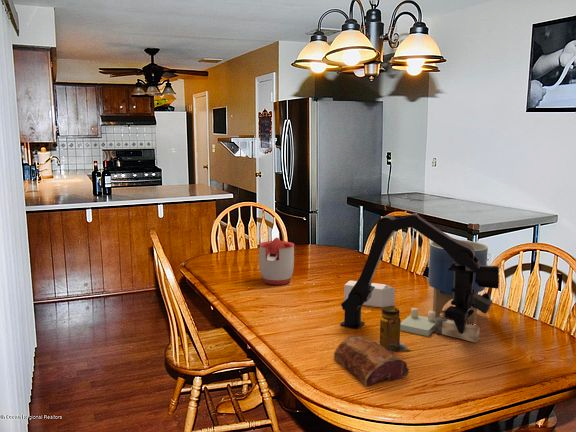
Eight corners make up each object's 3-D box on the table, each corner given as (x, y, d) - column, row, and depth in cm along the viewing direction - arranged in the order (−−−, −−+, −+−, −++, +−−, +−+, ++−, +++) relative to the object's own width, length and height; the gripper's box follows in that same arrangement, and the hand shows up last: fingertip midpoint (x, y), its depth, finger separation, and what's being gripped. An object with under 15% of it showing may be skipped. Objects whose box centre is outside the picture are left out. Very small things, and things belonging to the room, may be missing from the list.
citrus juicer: (253, 286, 222) (253, 240, 219) (264, 276, 238) (264, 233, 235) (288, 289, 218) (289, 242, 215) (297, 278, 235) (298, 235, 232)
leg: (433, 332, 169) (433, 319, 169) (437, 329, 172) (438, 316, 171) (475, 342, 161) (476, 329, 160) (479, 339, 163) (480, 326, 163)
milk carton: (343, 302, 201) (392, 309, 193) (343, 284, 200) (393, 290, 192) (348, 297, 207) (396, 303, 200) (349, 280, 206) (396, 285, 199)
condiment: (375, 343, 161) (376, 306, 159) (401, 341, 163) (402, 304, 161) (383, 352, 154) (384, 314, 152) (410, 351, 155) (411, 312, 154)
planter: (415, 312, 190) (418, 242, 186) (455, 305, 198) (459, 237, 194) (453, 330, 173) (457, 252, 169) (495, 321, 181) (500, 247, 177)
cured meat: (370, 341, 163) (370, 321, 162) (421, 374, 140) (422, 351, 139) (319, 352, 155) (319, 331, 154) (365, 389, 133) (365, 364, 132)
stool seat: (428, 336, 167) (428, 321, 166) (398, 330, 172) (399, 315, 171) (439, 325, 177) (439, 311, 176) (410, 319, 182) (411, 305, 181)
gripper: (483, 296, 148) (480, 348, 150) (497, 282, 163) (494, 329, 166) (444, 290, 154) (442, 340, 156) (461, 277, 169) (459, 323, 172)
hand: (461, 333), depth 162 cm, fingers closed
